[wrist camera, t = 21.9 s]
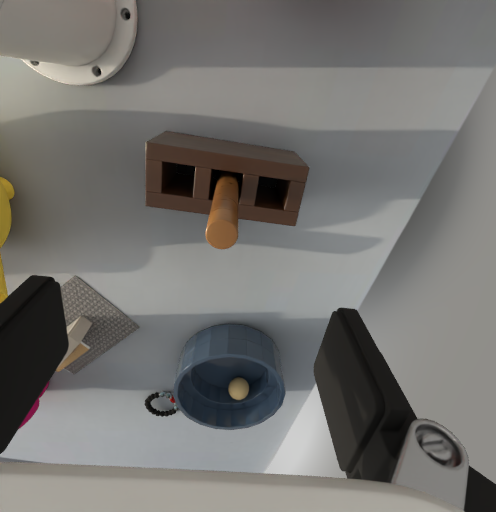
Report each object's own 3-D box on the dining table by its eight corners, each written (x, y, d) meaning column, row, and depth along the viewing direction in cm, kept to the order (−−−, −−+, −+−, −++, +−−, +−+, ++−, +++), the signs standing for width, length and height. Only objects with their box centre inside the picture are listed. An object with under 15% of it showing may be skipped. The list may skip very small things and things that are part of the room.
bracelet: (186, 405, 53) (185, 410, 52) (159, 416, 54) (158, 422, 53) (166, 385, 51) (165, 391, 50) (138, 398, 52) (137, 403, 51)
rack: (284, 200, 37) (295, 226, 30) (163, 183, 35) (145, 206, 28) (294, 151, 34) (309, 167, 27) (165, 130, 33) (145, 141, 26)
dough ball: (248, 395, 50) (242, 374, 50) (254, 395, 47) (247, 374, 48) (229, 402, 48) (223, 381, 49) (234, 403, 46) (228, 381, 46)
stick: (219, 177, 35) (204, 247, 19) (221, 158, 34) (206, 217, 18) (237, 179, 35) (236, 251, 19) (239, 161, 34) (240, 221, 19)
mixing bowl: (178, 388, 51) (171, 425, 45) (184, 315, 44) (176, 348, 38) (269, 395, 53) (273, 433, 47) (288, 326, 46) (295, 360, 40)
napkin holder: (101, 329, 45) (77, 370, 38) (70, 352, 47) (43, 395, 40) (81, 315, 44) (53, 355, 37) (51, 339, 45) (19, 381, 39)
